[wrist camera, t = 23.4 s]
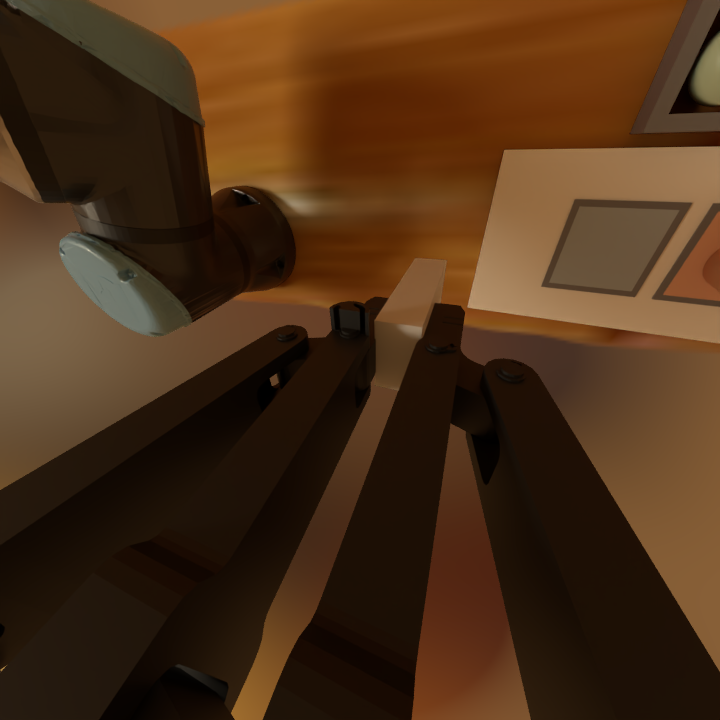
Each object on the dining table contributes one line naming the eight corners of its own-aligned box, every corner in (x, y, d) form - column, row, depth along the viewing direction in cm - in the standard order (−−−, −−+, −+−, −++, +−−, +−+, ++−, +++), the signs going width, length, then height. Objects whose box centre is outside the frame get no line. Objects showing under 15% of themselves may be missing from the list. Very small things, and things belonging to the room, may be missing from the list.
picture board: (468, 303, 39) (467, 308, 38) (504, 149, 29) (504, 149, 28) (739, 341, 30) (747, 348, 29) (925, 143, 20) (949, 143, 19)
